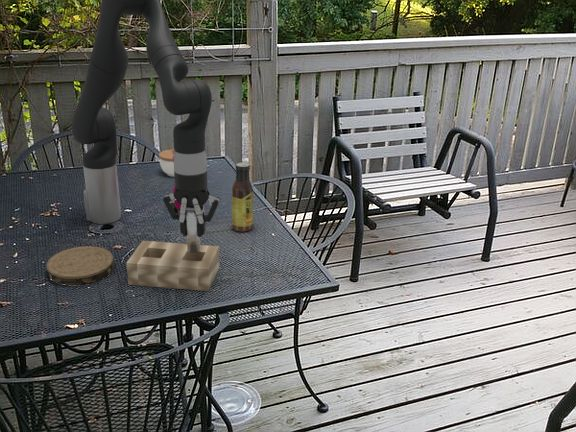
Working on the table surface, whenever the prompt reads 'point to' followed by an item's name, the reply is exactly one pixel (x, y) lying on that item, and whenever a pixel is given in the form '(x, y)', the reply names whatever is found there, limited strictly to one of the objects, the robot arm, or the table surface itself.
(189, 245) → the clevis pin
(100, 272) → the cork coaster
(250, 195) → the sauce bottle
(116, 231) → the table surface
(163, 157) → the lidded jar
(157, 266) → the hole block
